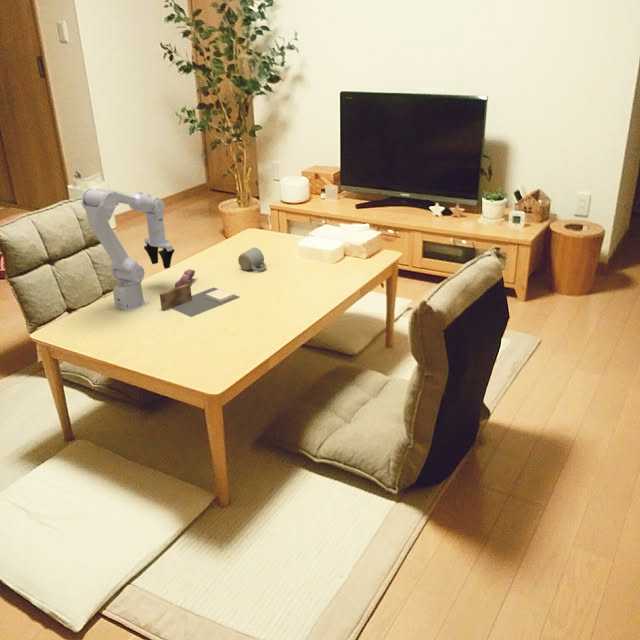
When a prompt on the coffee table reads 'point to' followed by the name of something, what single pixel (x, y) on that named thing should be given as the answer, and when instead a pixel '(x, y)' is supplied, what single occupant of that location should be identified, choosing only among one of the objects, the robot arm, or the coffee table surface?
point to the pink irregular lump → (185, 278)
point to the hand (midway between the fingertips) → (161, 265)
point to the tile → (219, 295)
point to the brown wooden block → (175, 296)
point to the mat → (200, 303)
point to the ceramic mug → (252, 260)
